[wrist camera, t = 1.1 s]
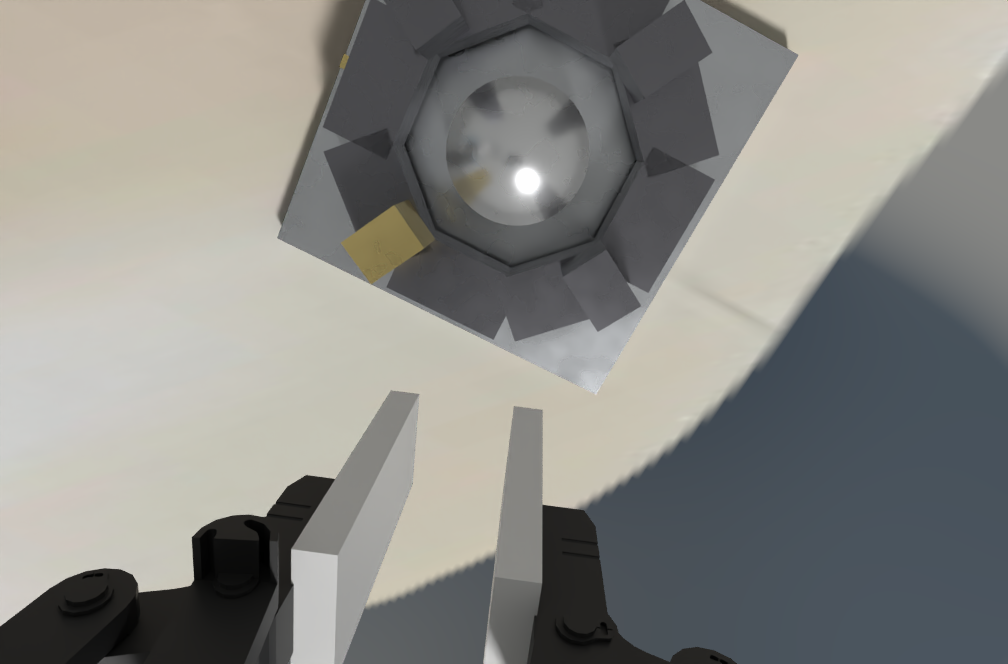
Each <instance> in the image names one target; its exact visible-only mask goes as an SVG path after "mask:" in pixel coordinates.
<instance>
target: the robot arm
mask: <svg viewBox="0 0 1008 664" xmlns="http://www.w3.org/2000/svg"><path fill="white" fill-rule="evenodd" d="M418 404H419V394H414V393H407V392H399V391H390V393H389V395H388V396H387V398H386V399H385V401H384V403H383V404H382V406H381V407H380V409H379V410H378V412H377V414H376V415H375V417H374V418H373V420H372V422H371V423H370V425H369V426H368V428H367V430H366V431H365V433H364V434H363V436H362V438H361V439H360V441H359V442H358V444H357V445H356V447H355V449H354V450H353V452H352V453H351V455H350V457H349V458H348V460H347V461H346V463H345V465H344V466H343V468H342V469H341V471H340V472H339V474H338V476H337V477H336V479H331V478H324V477H316V476H309V475H306V476H304V477H303V478H301V479H299V480H298V481H296V482H294V483H293V484H291V485H289V486H288V487H287V488H286V489H285V491H284V492H283V493H282V495H281V496H280V497H279V499H278V500H277V501H276V504H274V505H273V506H272V508H271V509H270V510H269V512H268V513H267V516H266V517H259V516H254V515H235V516H229V517H226V518H222V519H218V520H215V521H213V522H211V523H210V524H208V525H206V526H204V527H202V528H201V529H200V530H199V531H198V532H197V533H196V534H195V535H194V536H193V537H192V548H193V566H194V581H193V583H192V585H191V586H188V587H183V588H177V589H170V590H160V591H150V592H140V593H138V583H137V582H136V580H135V578H134V577H133V575H132V574H129V573H127V572H125V571H123V570H119V569H106V568H104V569H98V570H92V571H86V572H83V573H80V574H77V575H75V576H72V577H69V578H67V579H65V580H63V581H62V582H60V583H58V584H57V585H55V586H53V587H52V588H50V589H49V590H47V591H46V592H45V593H43V594H42V595H41V596H39V597H38V598H37V599H36V600H34V601H33V602H32V603H30V604H29V605H28V606H26V607H25V608H24V609H22V610H21V611H20V612H19V613H17V614H16V615H15V616H13V617H12V618H11V619H9V620H8V621H7V622H6V623H4V624H3V625H2V626H0V664H288V662H289V660H290V658H291V664H342V663H343V661H344V659H345V656H346V653H347V651H348V648H349V646H350V643H351V641H352V638H353V636H354V633H355V630H356V628H357V625H358V623H359V620H360V618H361V615H362V612H363V610H364V607H365V605H366V602H367V600H368V597H369V594H370V592H371V589H372V587H373V584H374V582H375V579H376V576H377V574H378V571H379V569H380V566H381V564H382V561H383V559H384V556H385V553H386V551H387V548H388V546H389V543H390V541H391V538H392V535H393V533H394V530H395V528H396V525H397V523H398V520H399V517H400V515H401V512H402V510H403V507H404V505H405V502H406V499H407V497H408V494H409V492H410V489H411V487H412V484H413V472H414V458H415V445H416V431H417V418H418ZM597 544H598V542H597V535H596V527H595V525H594V524H593V522H592V521H591V520H590V518H589V517H588V515H587V514H586V513H585V511H584V510H577V509H570V508H562V507H555V506H547V505H542V410H539V409H531V408H523V407H516V406H514V410H513V418H512V426H511V434H510V442H509V450H508V457H507V465H506V473H505V481H504V489H503V497H502V506H501V514H500V523H499V531H498V540H497V549H496V557H495V566H494V574H493V584H492V592H491V601H490V609H489V617H488V626H487V635H486V643H485V652H484V661H483V664H737V663H735V662H734V661H733V660H732V659H731V658H728V657H726V656H724V655H722V654H720V653H718V652H716V651H714V650H709V649H704V648H699V647H695V648H686V649H682V650H681V651H679V652H678V653H676V654H675V655H673V657H672V659H671V661H670V662H668V661H666V660H663V659H661V658H658V657H656V656H654V655H651V654H649V653H646V652H644V651H642V650H640V649H638V648H636V647H634V646H633V645H632V644H630V643H629V642H628V641H626V640H625V639H624V638H623V637H622V636H621V635H620V634H619V633H618V629H617V626H616V624H615V623H614V622H613V620H612V619H611V617H610V616H609V615H608V613H607V607H606V600H605V592H604V585H603V578H602V571H601V564H600V560H599V550H598V546H597Z"/></svg>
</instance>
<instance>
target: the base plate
mask: <svg viewBox="0 0 1008 664" xmlns="http://www.w3.org/2000/svg"><path fill="white" fill-rule="evenodd" d="M378 1H380V2H382V3H384V4H385V5H386V3H385V2H384V0H378ZM682 1H683V0H670V1H669V3H668V5H667V6H666V8H665V10H664V12H663V14H665V13H666V12H667V11H669V10H670V9H672V8H673V7H675V6H676V5H677V4H679V3H680V2H682ZM685 1H686V3H687V5H688V7H689V9H690V11H691V13H692V15H693V16H694V18H695V20H696V22H697V24H698V26H699V28H700V30H701V32H702V33H703V35H704V37H705V39H706V41H707V43H708V45H709V47H710V49H711V50H712V52H713V53H711V54H710V55H708V56H707V57H705V58H704V59H702V60H701V61H699V62H698V63H699V68H700V72H701V76H702V81H703V85H704V90H705V94H706V98H707V103H708V107H709V111H710V116H711V120H712V125H713V129H714V133H715V138H716V142H717V147H718V151H719V155H718V156H715V157H712V158H709V159H706V160H703V161H700V162H697V163H694V164H691V165H689V166H690V167H692V168H694V169H696V170H698V171H700V172H702V173H704V174H705V175H707V176H709V177H711V178H713V179H715V181H714V183H713V185H712V186H711V188H710V190H709V191H708V193H707V195H706V196H705V198H704V200H703V201H702V203H701V205H700V206H699V208H698V210H697V212H696V213H695V215H694V217H693V218H692V220H691V222H690V223H689V225H688V227H687V228H686V230H685V232H684V234H683V235H682V237H681V239H680V240H679V242H678V244H677V245H676V247H675V249H674V250H673V252H672V254H671V255H670V257H669V259H668V261H667V262H666V264H665V266H664V267H663V269H662V271H661V272H660V274H659V276H658V277H657V279H656V281H655V283H654V284H653V286H652V288H651V289H650V291H649V293H647V292H645V291H643V290H641V289H639V288H638V287H636V286H634V285H632V284H630V283H628V282H627V283H628V285H629V287H630V288H631V290H632V292H633V293H634V295H635V296H636V298H637V300H638V301H639V303H640V304H641V307H639V308H637V309H636V310H634V311H632V312H631V313H629V314H627V315H626V316H624V317H622V318H621V319H619V320H617V321H616V322H614V323H612V324H611V325H609V326H607V327H606V328H604V329H602V330H600V331H599V332H597V330H596V329H595V327H594V326H593V324H592V323H591V321H590V319H588V320H585V321H582V322H578V323H575V324H572V325H569V326H565V327H562V328H559V329H555V330H552V331H549V332H545V333H542V334H539V335H535V336H532V337H529V338H525V339H522V340H519V341H515V340H514V338H513V335H512V332H511V329H510V326H509V323H508V320H507V317H505V319H504V321H503V323H502V325H501V327H500V328H499V330H498V332H497V334H496V336H495V338H494V340H493V339H491V338H489V337H487V336H484V335H482V334H480V333H478V332H476V331H474V330H472V329H470V328H468V327H466V326H464V325H462V324H460V323H458V322H456V321H454V320H452V319H450V318H448V317H446V316H444V315H442V314H440V313H438V312H436V311H434V310H432V309H430V308H427V307H425V306H423V305H421V304H419V303H417V302H415V301H413V300H411V299H409V298H407V297H405V296H403V295H401V294H399V293H397V292H395V291H393V290H391V289H389V288H387V285H388V282H389V280H390V278H391V276H392V273H393V271H394V269H395V268H394V269H393V270H392V271H390V272H389V273H387V274H386V275H384V276H383V277H381V278H380V279H378V280H377V281H375V282H374V283H372V285H374V286H376V287H378V288H380V289H382V290H384V291H386V292H388V293H390V294H392V295H394V296H396V297H398V298H400V299H402V300H404V301H406V302H409V303H411V304H413V305H415V306H417V307H419V308H421V309H423V310H425V311H427V312H429V313H431V314H433V315H435V316H437V317H439V318H441V319H443V320H445V321H447V322H449V323H451V324H453V325H455V326H457V327H460V328H462V329H464V330H466V331H468V332H470V333H472V334H474V335H476V336H478V337H480V338H482V339H484V340H486V341H488V342H490V343H492V344H494V345H496V346H498V347H500V348H502V349H504V350H506V351H508V352H510V353H513V354H515V355H517V356H519V357H521V358H523V359H525V360H527V361H529V362H531V363H533V364H535V365H537V366H539V367H541V368H543V369H545V370H547V371H549V372H551V373H553V374H555V375H557V376H559V377H561V378H564V379H566V380H568V381H570V382H572V383H574V384H576V385H578V386H580V387H582V388H584V389H586V390H588V391H590V392H592V393H594V394H597V392H598V390H599V389H600V387H601V385H602V384H603V382H604V380H605V379H606V377H607V375H608V374H609V372H610V370H611V369H612V367H613V365H614V364H615V362H616V360H617V359H618V357H619V355H620V354H621V352H622V350H623V348H624V347H625V345H626V343H627V342H628V340H629V338H630V337H631V335H632V333H633V332H634V330H635V328H636V327H637V325H638V323H639V322H640V320H641V318H642V317H643V315H644V313H645V312H646V310H647V308H648V307H649V305H650V303H651V302H652V300H653V298H654V297H655V295H656V293H657V292H658V290H659V288H660V286H661V285H662V283H663V281H664V280H665V278H666V276H667V275H668V273H669V271H670V270H671V268H672V266H673V265H674V263H675V261H676V260H677V258H678V256H679V255H680V253H681V251H682V250H683V248H684V246H685V245H686V243H687V241H688V240H689V238H690V236H691V235H692V233H693V231H694V229H695V228H696V226H697V224H698V223H699V221H700V219H701V218H702V216H703V214H704V213H705V211H706V209H707V208H708V206H709V204H710V203H711V201H712V199H713V198H714V196H715V194H716V193H717V191H718V189H719V188H720V186H721V184H722V183H723V181H724V179H725V178H726V176H727V174H728V173H729V171H730V169H731V167H732V166H733V164H734V162H735V161H736V159H737V157H738V156H739V154H740V152H741V151H742V149H743V147H744V146H745V144H746V142H747V141H748V139H749V137H750V136H751V134H752V132H753V131H754V129H755V127H756V126H757V124H758V122H759V121H760V119H761V117H762V116H763V114H764V112H765V110H766V109H767V107H768V105H769V104H770V102H771V100H772V99H773V97H774V95H775V94H776V92H777V90H778V89H779V87H780V85H781V84H782V82H783V80H784V79H785V77H786V75H787V74H788V72H789V70H790V69H791V67H792V65H793V64H794V62H795V60H796V59H797V57H798V54H796V53H794V52H792V51H791V50H789V49H787V48H785V47H783V46H782V45H780V44H778V43H776V42H774V41H773V40H771V39H769V38H767V37H765V36H764V35H762V34H760V33H758V32H756V31H755V30H753V29H751V28H749V27H747V26H746V25H744V24H742V23H740V22H738V21H737V20H735V19H733V18H731V17H729V16H728V15H726V14H724V13H722V12H721V11H719V10H717V9H715V8H713V7H712V6H710V5H708V4H706V3H704V2H703V1H701V0H685ZM369 2H370V0H366V1H365V3H364V6H363V9H362V11H361V14H360V17H359V19H358V22H357V25H356V28H355V30H354V33H353V36H352V38H351V41H350V44H349V46H348V49H347V52H346V54H344V55H343V58H342V60H341V63H340V66H339V67H341V68H340V71H339V73H338V76H337V79H336V81H335V84H334V87H333V89H332V92H331V95H330V97H329V100H328V103H327V105H326V108H325V111H324V114H323V116H322V119H321V122H320V124H319V127H318V130H317V132H316V135H315V138H314V140H313V143H312V146H311V149H310V151H309V154H308V157H307V159H306V162H305V165H304V167H303V170H302V173H301V175H300V178H299V181H298V183H297V186H296V189H295V192H294V194H293V197H292V200H291V202H290V205H289V208H288V210H287V213H286V216H285V218H284V221H283V224H282V226H281V229H280V232H279V235H278V237H277V238H278V239H280V240H282V241H284V242H286V243H288V244H290V245H292V246H294V247H296V248H298V249H300V250H303V251H305V252H307V253H309V254H311V255H313V256H315V257H317V258H319V259H321V260H323V261H325V262H327V263H329V264H331V265H333V266H335V267H337V268H339V269H341V270H343V271H345V272H347V273H349V274H351V275H353V276H356V277H358V278H360V279H362V280H364V281H366V282H368V283H370V282H369V281H368V280H367V278H366V277H365V276H364V274H363V273H362V271H361V270H360V269H359V267H358V266H357V265H356V263H355V262H354V260H353V259H352V258H351V256H350V255H349V254H348V252H347V251H346V250H345V248H344V247H343V245H342V244H341V242H342V241H344V240H345V239H347V238H348V237H349V236H351V235H352V234H354V233H355V229H354V227H353V224H352V222H351V219H350V217H349V214H348V212H347V209H346V207H345V204H344V202H343V199H342V197H341V194H340V192H339V189H338V187H337V185H336V182H335V180H334V177H333V175H332V172H331V170H330V167H329V165H328V162H327V160H326V157H325V155H324V152H323V151H326V150H329V149H332V148H334V147H337V146H340V145H342V144H345V143H348V142H350V141H349V140H347V139H345V138H343V137H341V136H339V135H337V134H335V133H333V132H331V131H329V130H327V129H325V128H323V125H324V122H325V120H326V117H327V114H328V111H329V109H330V106H331V103H332V101H333V98H334V95H335V93H336V90H337V87H338V85H339V82H340V79H341V77H342V74H343V71H344V69H345V66H346V63H347V61H348V58H349V55H350V53H351V50H352V47H353V45H354V42H355V39H356V37H357V34H358V31H359V29H360V26H361V23H362V21H363V18H364V15H365V13H366V10H367V7H368V5H369ZM663 14H662V15H663ZM404 145H405V148H406V151H407V154H408V156H409V159H410V162H411V165H412V167H413V170H414V173H415V176H416V178H417V181H418V184H419V187H420V189H421V192H422V195H423V198H424V200H425V203H426V206H427V208H428V211H429V214H430V217H431V219H432V222H433V225H434V228H435V230H437V231H439V232H441V233H443V234H445V235H447V236H449V237H451V238H453V239H455V240H457V241H459V242H461V243H463V244H465V245H467V246H469V247H471V248H473V249H475V250H477V251H479V252H481V253H483V254H485V255H487V256H489V257H491V258H493V259H495V260H497V261H499V262H501V263H503V264H505V265H507V266H509V267H511V268H512V267H515V266H518V265H521V264H524V263H527V262H530V261H533V260H537V259H540V258H543V257H546V256H549V255H552V254H555V253H558V252H561V251H565V250H568V249H571V248H574V247H577V246H580V245H583V244H586V243H589V242H593V240H594V238H595V237H596V235H597V233H598V231H599V229H600V227H601V226H602V224H603V222H604V220H605V218H606V216H607V215H608V213H609V211H610V209H611V207H612V205H613V204H614V202H615V200H616V198H617V196H618V194H619V193H620V191H621V189H622V187H623V185H624V183H625V182H626V180H627V178H628V176H629V174H630V172H631V171H632V169H633V167H634V165H635V163H636V158H635V154H634V150H633V146H632V142H631V139H630V135H629V131H628V127H627V124H626V120H625V116H624V112H623V108H622V105H621V101H620V97H619V93H618V90H617V86H616V82H615V78H614V75H613V71H612V69H611V68H609V67H608V66H606V65H604V64H602V63H600V62H598V61H596V60H595V59H593V58H591V57H589V56H587V55H585V54H583V53H582V52H580V51H578V50H576V49H574V48H572V47H571V46H569V45H567V44H565V43H563V42H561V41H559V40H558V39H556V38H554V37H552V36H550V35H548V34H546V33H545V32H543V31H541V30H539V29H537V28H535V27H533V26H532V25H530V24H528V25H525V26H522V27H520V28H517V29H515V30H512V31H509V32H507V33H504V34H502V35H499V36H496V37H494V38H491V39H489V40H486V41H483V42H481V43H478V44H476V45H473V46H470V47H468V48H465V49H463V50H460V51H457V52H455V53H452V54H450V55H447V56H444V57H442V58H440V61H439V63H438V65H437V68H436V70H435V72H434V75H433V77H432V80H431V82H430V84H429V87H428V89H427V92H426V94H425V96H424V99H423V101H422V103H421V106H420V108H419V111H418V113H417V115H416V118H415V120H414V122H413V125H412V127H411V130H410V132H409V134H408V137H407V139H406V142H405V144H404Z"/></svg>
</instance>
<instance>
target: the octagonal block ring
mask: <svg viewBox="0 0 1008 664" xmlns="http://www.w3.org/2000/svg"><path fill="white" fill-rule="evenodd" d="M669 1H670V0H384V2H385V3H386V5H385V4H384V3H382V2H380V1H378V0H370V2H369V5H368V7H367V10H366V13H365V15H364V18H363V21H362V23H361V26H360V29H359V31H358V34H357V37H356V39H355V42H354V45H353V47H352V50H351V53H350V55H349V58H348V61H347V63H346V66H345V69H344V71H343V74H342V77H341V79H340V82H339V85H338V87H337V90H336V93H335V95H334V98H333V101H332V103H331V106H330V109H329V111H328V114H327V117H326V120H325V122H324V125H323V128H325V129H327V130H329V131H331V132H333V133H335V134H337V135H339V136H341V137H343V138H345V139H347V140H349V141H350V142H348V143H345V144H342V145H340V146H337V147H334V148H332V149H329V150H326V151H323V152H324V155H325V157H326V160H327V162H328V165H329V167H330V170H331V172H332V175H333V177H334V180H335V182H336V185H337V187H338V189H339V192H340V194H341V197H342V199H343V202H344V204H345V207H346V209H347V212H348V214H349V217H350V219H351V222H352V224H353V227H354V229H355V233H354V234H352V235H351V236H349V237H348V238H347V239H345V240H344V241H342V242H341V244H342V245H343V247H344V248H345V250H346V251H347V252H348V254H349V255H350V256H351V258H352V259H353V260H354V262H355V263H356V265H357V266H358V267H359V269H360V270H361V271H362V273H363V274H364V276H365V277H366V278H367V280H368V281H369V282H370V284H372V283H374V282H375V281H377V280H378V279H380V278H381V277H383V276H384V275H386V274H387V273H389V272H390V271H392V270H393V269H394V268H395V269H394V271H393V273H392V276H391V278H390V280H389V282H388V285H387V288H389V289H391V290H393V291H395V292H397V293H399V294H401V295H403V296H405V297H407V298H409V299H411V300H413V301H415V302H417V303H419V304H421V305H423V306H425V307H427V308H430V309H432V310H434V311H436V312H438V313H440V314H442V315H444V316H446V317H448V318H450V319H452V320H454V321H456V322H458V323H460V324H462V325H464V326H466V327H468V328H470V329H472V330H474V331H476V332H478V333H480V334H482V335H484V336H487V337H489V338H491V339H493V340H494V338H495V336H496V334H497V332H498V330H499V328H500V327H501V325H502V323H503V321H504V319H505V317H507V320H508V323H509V326H510V329H511V332H512V335H513V338H514V340H515V341H519V340H522V339H525V338H529V337H532V336H535V335H539V334H542V333H545V332H549V331H552V330H555V329H559V328H562V327H565V326H569V325H572V324H575V323H578V322H582V321H585V320H588V319H590V321H591V323H592V324H593V326H594V327H595V329H596V330H597V332H599V331H600V330H602V329H604V328H606V327H607V326H609V325H611V324H612V323H614V322H616V321H617V320H619V319H621V318H622V317H624V316H626V315H627V314H629V313H631V312H632V311H634V310H636V309H637V308H639V307H641V304H640V303H639V301H638V300H637V298H636V296H635V295H634V293H633V292H632V290H631V288H630V287H629V285H628V283H630V284H632V285H634V286H636V287H638V288H639V289H641V290H643V291H645V292H647V293H649V291H650V289H651V288H652V286H653V284H654V283H655V281H656V279H657V277H658V276H659V274H660V272H661V271H662V269H663V267H664V266H665V264H666V262H667V261H668V259H669V257H670V255H671V254H672V252H673V250H674V249H675V247H676V245H677V244H678V242H679V240H680V239H681V237H682V235H683V234H684V232H685V230H686V228H687V227H688V225H689V223H690V222H691V220H692V218H693V217H694V215H695V213H696V212H697V210H698V208H699V206H700V205H701V203H702V201H703V200H704V198H705V196H706V195H707V193H708V191H709V190H710V188H711V186H712V185H713V183H714V181H715V179H713V178H711V177H709V176H707V175H705V174H704V173H702V172H700V171H698V170H696V169H694V168H692V167H690V166H689V165H691V164H694V163H697V162H700V161H703V160H706V159H709V158H712V157H715V156H718V155H719V151H718V147H717V142H716V138H715V133H714V129H713V125H712V120H711V116H710V111H709V107H708V103H707V98H706V94H705V90H704V85H703V81H702V76H701V72H700V68H699V63H698V62H699V61H701V60H702V59H704V58H705V57H707V56H708V55H710V54H711V53H713V52H712V50H711V49H710V47H709V45H708V43H707V41H706V39H705V37H704V35H703V33H702V32H701V30H700V28H699V26H698V24H697V22H696V20H695V18H694V16H693V15H692V13H691V11H690V9H689V7H688V5H687V3H686V1H685V0H683V1H682V2H680V3H679V4H677V5H676V6H675V7H673V8H672V9H670V10H669V11H667V12H666V13H665V14H663V12H664V10H665V8H666V6H667V5H668V3H669ZM662 14H663V15H662ZM528 24H530V25H532V26H533V27H535V28H537V29H539V30H541V31H543V32H545V33H546V34H548V35H550V36H552V37H554V38H556V39H558V40H559V41H561V42H563V43H565V44H567V45H569V46H571V47H572V48H574V49H576V50H578V51H580V52H582V53H583V54H585V55H587V56H589V57H591V58H593V59H595V60H596V61H598V62H600V63H602V64H604V65H606V66H608V67H609V68H611V69H612V71H613V75H614V78H615V82H616V86H617V90H618V93H619V97H620V101H621V105H622V108H623V112H624V116H625V120H626V124H627V127H628V131H629V135H630V139H631V142H632V146H633V150H634V154H635V158H636V163H635V165H634V167H633V169H632V171H631V172H630V174H629V176H628V178H627V180H626V182H625V183H624V185H623V187H622V189H621V191H620V193H619V194H618V196H617V198H616V200H615V202H614V204H613V205H612V207H611V209H610V211H609V213H608V215H607V216H606V218H605V220H604V222H603V224H602V226H601V227H600V229H599V231H598V233H597V235H596V237H595V238H594V240H593V242H589V243H586V244H583V245H580V246H577V247H574V248H571V249H568V250H565V251H561V252H558V253H555V254H552V255H549V256H546V257H543V258H540V259H537V260H533V261H530V262H527V263H524V264H521V265H518V266H515V267H512V268H511V267H509V266H507V265H505V264H503V263H501V262H499V261H497V260H495V259H493V258H491V257H489V256H487V255H485V254H483V253H481V252H479V251H477V250H475V249H473V248H471V247H469V246H467V245H465V244H463V243H461V242H459V241H457V240H455V239H453V238H451V237H449V236H447V235H445V234H443V233H441V232H439V231H437V230H435V228H434V225H433V222H432V219H431V217H430V214H429V211H428V208H427V206H426V203H425V200H424V198H423V195H422V192H421V189H420V187H419V184H418V181H417V178H416V176H415V173H414V170H413V167H412V165H411V162H410V159H409V156H408V154H407V151H406V148H405V145H404V144H405V142H406V139H407V137H408V134H409V132H410V130H411V127H412V125H413V122H414V120H415V118H416V115H417V113H418V111H419V108H420V106H421V103H422V101H423V99H424V96H425V94H426V92H427V89H428V87H429V84H430V82H431V80H432V77H433V75H434V72H435V70H436V68H437V65H438V63H439V61H440V58H442V57H444V56H447V55H450V54H452V53H455V52H457V51H460V50H463V49H465V48H468V47H470V46H473V45H476V44H478V43H481V42H483V41H486V40H489V39H491V38H494V37H496V36H499V35H502V34H504V33H507V32H509V31H512V30H515V29H517V28H520V27H522V26H525V25H528ZM627 282H628V283H627Z"/></svg>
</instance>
